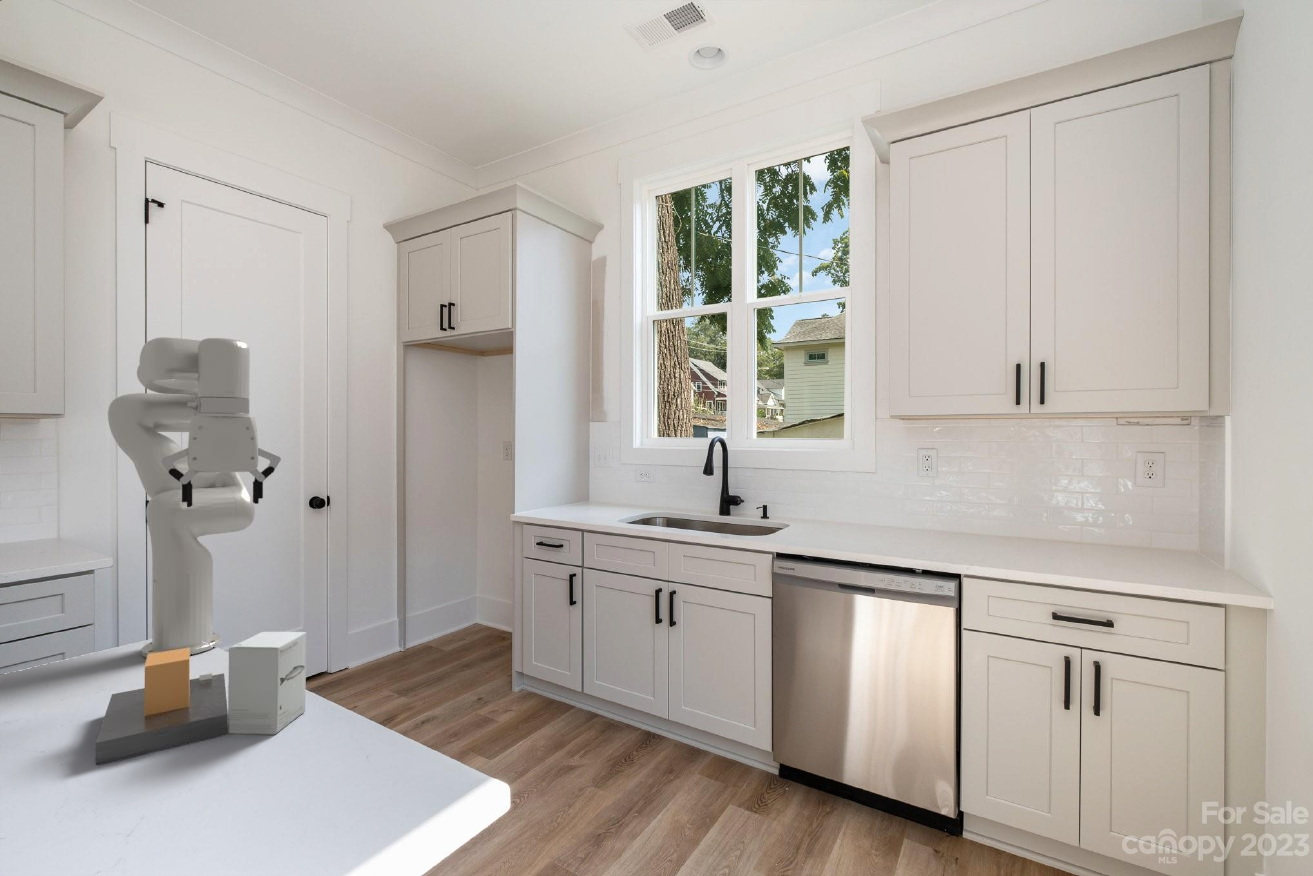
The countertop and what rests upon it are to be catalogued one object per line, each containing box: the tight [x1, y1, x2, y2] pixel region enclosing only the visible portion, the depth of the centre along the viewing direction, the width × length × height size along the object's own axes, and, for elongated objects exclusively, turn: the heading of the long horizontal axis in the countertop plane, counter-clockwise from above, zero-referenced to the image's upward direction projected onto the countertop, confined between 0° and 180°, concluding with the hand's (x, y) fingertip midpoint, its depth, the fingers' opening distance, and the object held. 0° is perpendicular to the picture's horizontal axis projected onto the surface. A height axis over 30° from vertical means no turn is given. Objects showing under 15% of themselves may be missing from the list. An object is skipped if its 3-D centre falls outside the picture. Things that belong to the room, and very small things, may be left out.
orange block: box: [144, 647, 191, 716], centre depth 91 cm, size 8×5×9 cm, turn 37°
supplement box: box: [227, 631, 307, 735], centre depth 91 cm, size 7×7×13 cm
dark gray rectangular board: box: [95, 673, 229, 767], centre depth 90 cm, size 18×14×4 cm
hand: (223, 504), depth 108 cm, fingers open, 9 cm apart
